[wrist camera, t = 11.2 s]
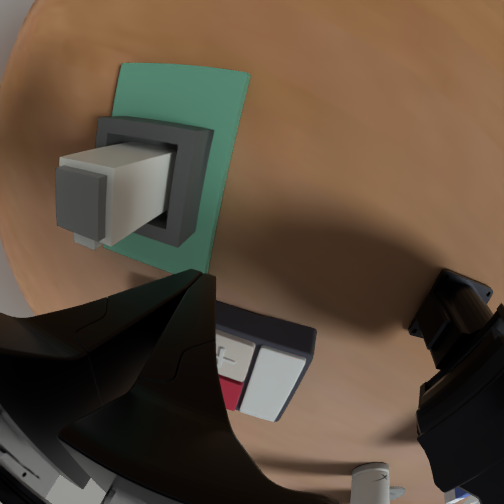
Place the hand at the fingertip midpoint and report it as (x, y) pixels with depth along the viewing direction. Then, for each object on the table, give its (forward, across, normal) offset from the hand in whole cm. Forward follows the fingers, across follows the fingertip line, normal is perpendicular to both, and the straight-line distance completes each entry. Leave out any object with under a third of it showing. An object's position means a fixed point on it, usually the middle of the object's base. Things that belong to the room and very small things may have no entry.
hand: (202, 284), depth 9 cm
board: (+12, +8, 0) cm, 14 cm away
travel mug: (+12, -28, +36) cm, 47 cm away
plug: (+10, +8, 0) cm, 13 cm away
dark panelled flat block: (+13, 0, +15) cm, 20 cm away
